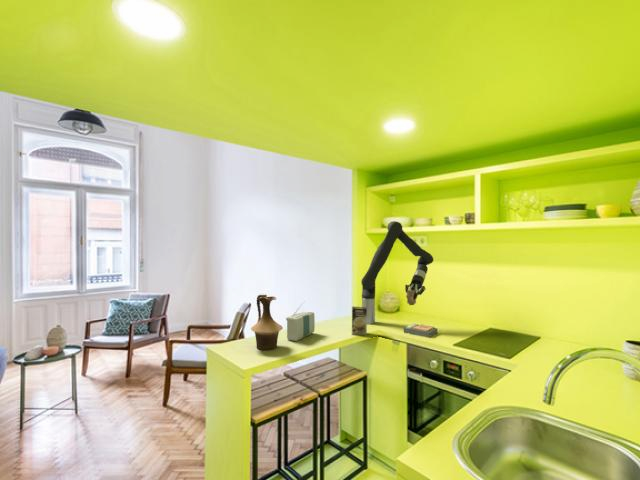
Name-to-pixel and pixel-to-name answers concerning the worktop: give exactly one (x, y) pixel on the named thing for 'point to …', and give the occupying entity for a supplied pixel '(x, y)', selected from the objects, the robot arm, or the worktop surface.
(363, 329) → the coffee box
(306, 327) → the stereo radio cassette player
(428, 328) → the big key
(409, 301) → the reddish brown block
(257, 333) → the pitcher
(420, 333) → the keypad
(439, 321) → the worktop surface
